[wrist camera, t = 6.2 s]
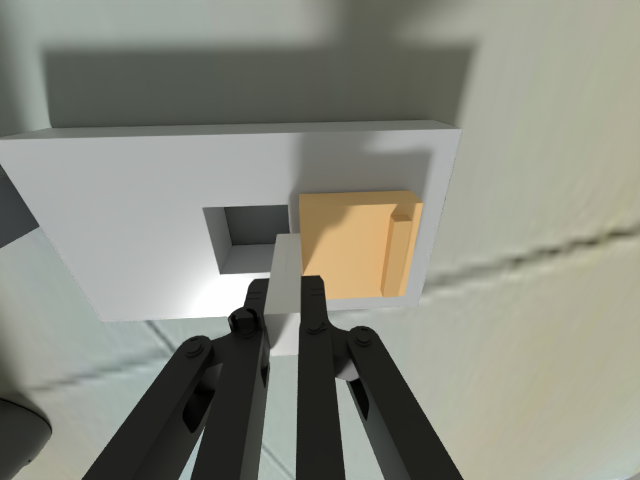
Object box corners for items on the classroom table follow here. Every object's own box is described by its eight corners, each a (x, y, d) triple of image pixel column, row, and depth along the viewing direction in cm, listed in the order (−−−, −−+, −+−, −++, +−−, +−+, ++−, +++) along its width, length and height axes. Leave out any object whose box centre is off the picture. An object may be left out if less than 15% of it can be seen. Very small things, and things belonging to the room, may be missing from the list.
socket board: (129, 288, 25) (101, 322, 21) (47, 128, 17) (-15, 140, 14) (402, 276, 26) (418, 305, 22) (432, 119, 19) (462, 128, 15)
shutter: (304, 281, 20) (304, 309, 18) (299, 194, 16) (298, 213, 14) (395, 277, 20) (408, 303, 18) (410, 190, 17) (429, 208, 14)
